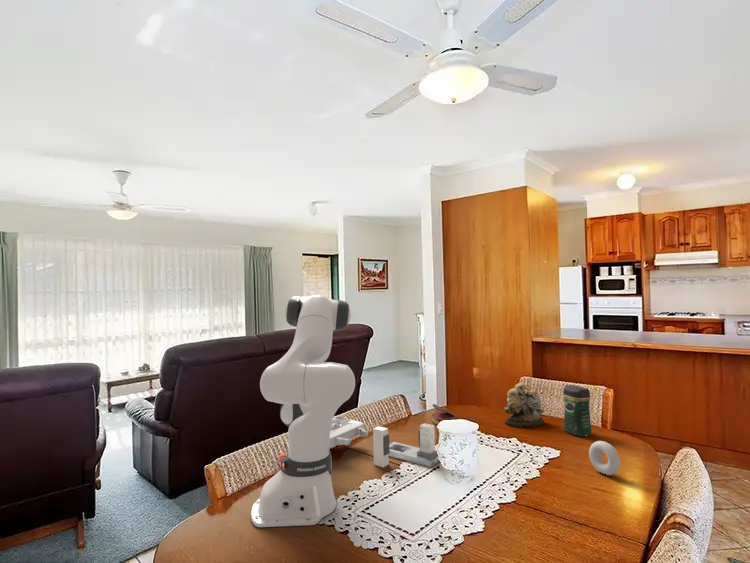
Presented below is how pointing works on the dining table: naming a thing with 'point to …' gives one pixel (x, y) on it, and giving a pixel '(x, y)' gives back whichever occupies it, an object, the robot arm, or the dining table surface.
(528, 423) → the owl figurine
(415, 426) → the dining table surface
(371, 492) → the dining table surface
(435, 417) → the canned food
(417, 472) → the dining table surface
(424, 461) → the steel rail
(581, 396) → the coffee jar
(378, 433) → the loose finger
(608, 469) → the donut
